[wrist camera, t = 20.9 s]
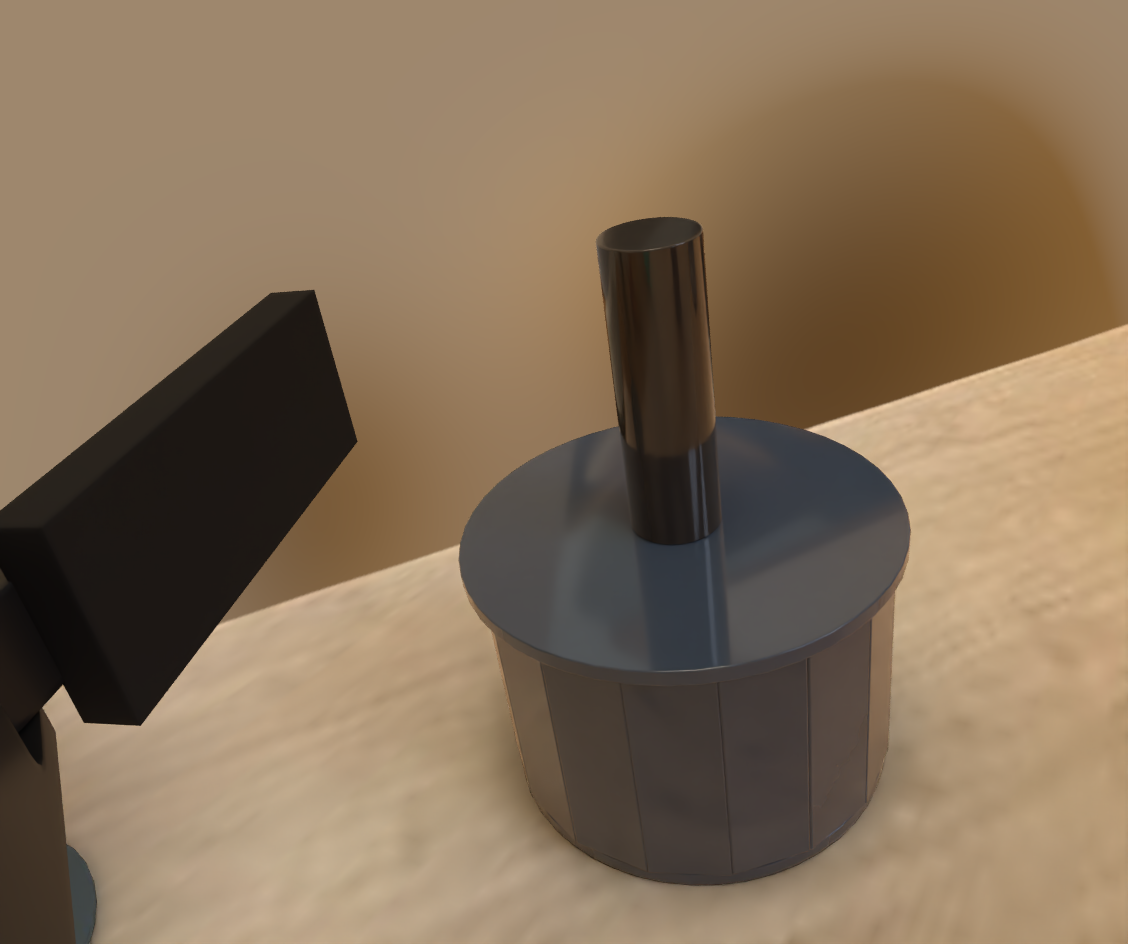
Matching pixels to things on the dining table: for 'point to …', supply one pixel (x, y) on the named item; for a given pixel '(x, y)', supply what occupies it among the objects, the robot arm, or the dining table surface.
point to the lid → (680, 510)
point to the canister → (707, 759)
